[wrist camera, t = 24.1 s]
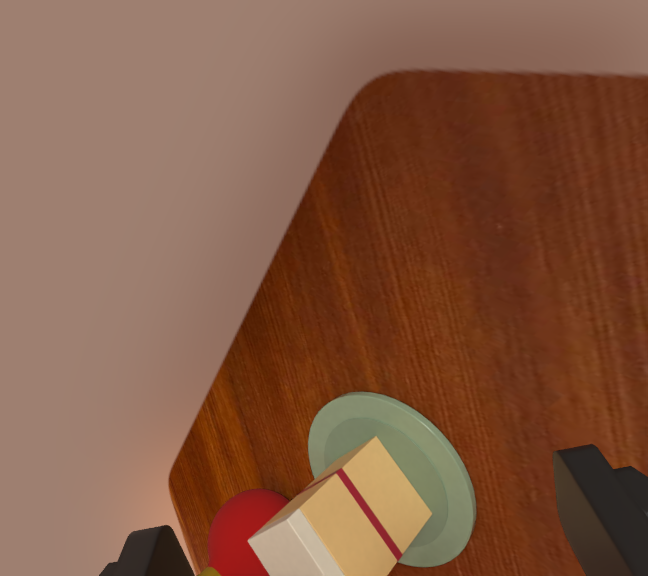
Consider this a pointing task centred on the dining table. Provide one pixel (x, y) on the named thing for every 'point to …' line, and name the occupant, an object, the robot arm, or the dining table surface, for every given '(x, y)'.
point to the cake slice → (345, 520)
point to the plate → (403, 466)
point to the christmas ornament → (240, 533)
